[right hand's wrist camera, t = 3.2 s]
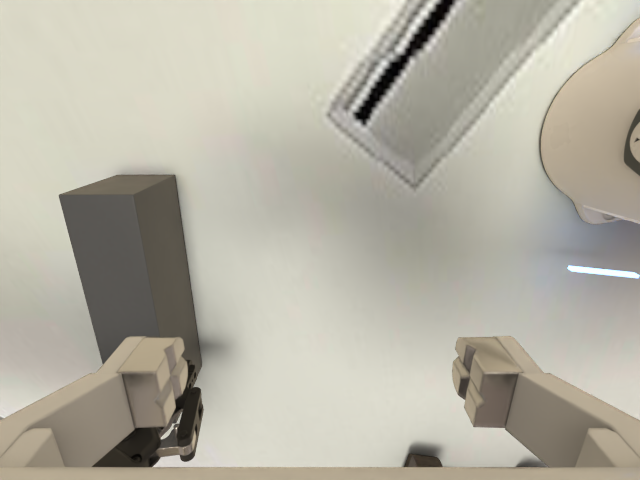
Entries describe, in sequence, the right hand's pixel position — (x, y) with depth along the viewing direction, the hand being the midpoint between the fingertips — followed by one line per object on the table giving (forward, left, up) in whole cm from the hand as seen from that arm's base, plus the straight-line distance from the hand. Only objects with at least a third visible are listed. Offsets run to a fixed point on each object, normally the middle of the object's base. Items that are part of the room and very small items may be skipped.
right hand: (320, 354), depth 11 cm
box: (+18, +11, -27) cm, 34 cm away
